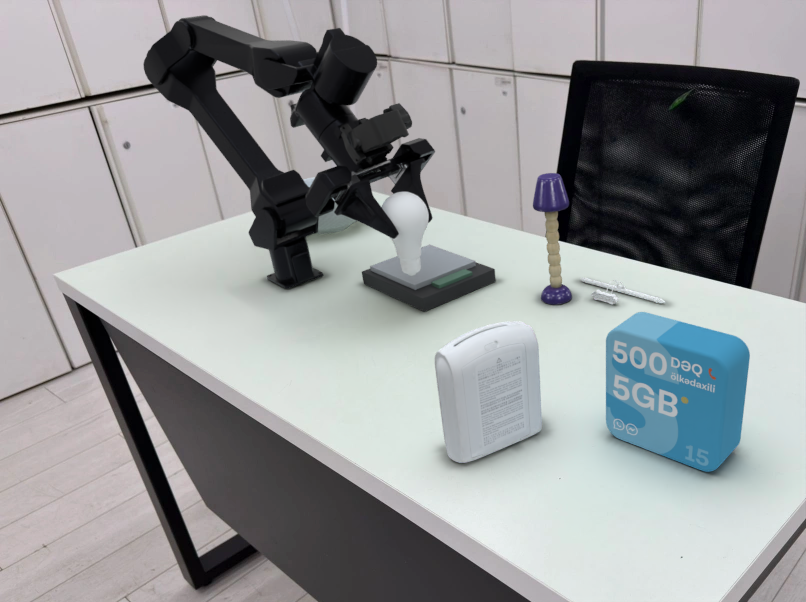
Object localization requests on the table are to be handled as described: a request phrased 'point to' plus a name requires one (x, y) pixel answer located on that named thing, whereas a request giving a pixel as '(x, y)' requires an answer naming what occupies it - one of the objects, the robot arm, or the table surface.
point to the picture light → (612, 297)
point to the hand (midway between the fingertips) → (413, 228)
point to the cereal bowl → (330, 218)
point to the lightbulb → (407, 228)
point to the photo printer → (489, 389)
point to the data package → (676, 389)
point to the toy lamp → (552, 233)
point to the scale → (429, 278)
